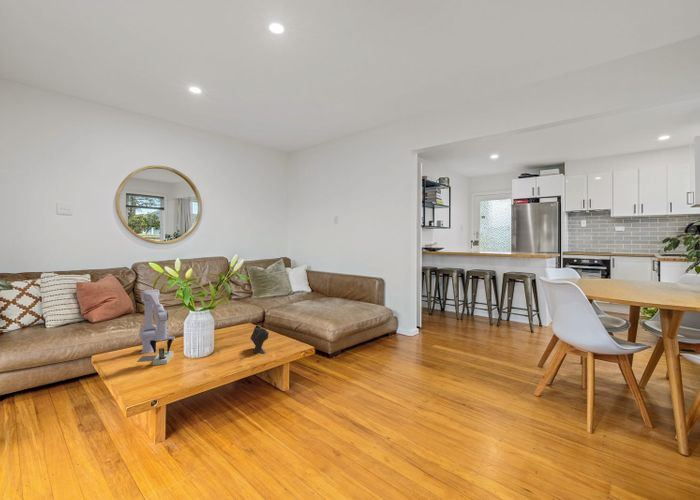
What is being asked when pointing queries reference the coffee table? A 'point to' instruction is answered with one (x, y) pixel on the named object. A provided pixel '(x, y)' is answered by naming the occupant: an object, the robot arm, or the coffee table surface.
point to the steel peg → (161, 353)
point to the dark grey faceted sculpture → (259, 338)
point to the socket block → (163, 361)
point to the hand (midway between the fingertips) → (161, 351)
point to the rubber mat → (146, 358)
